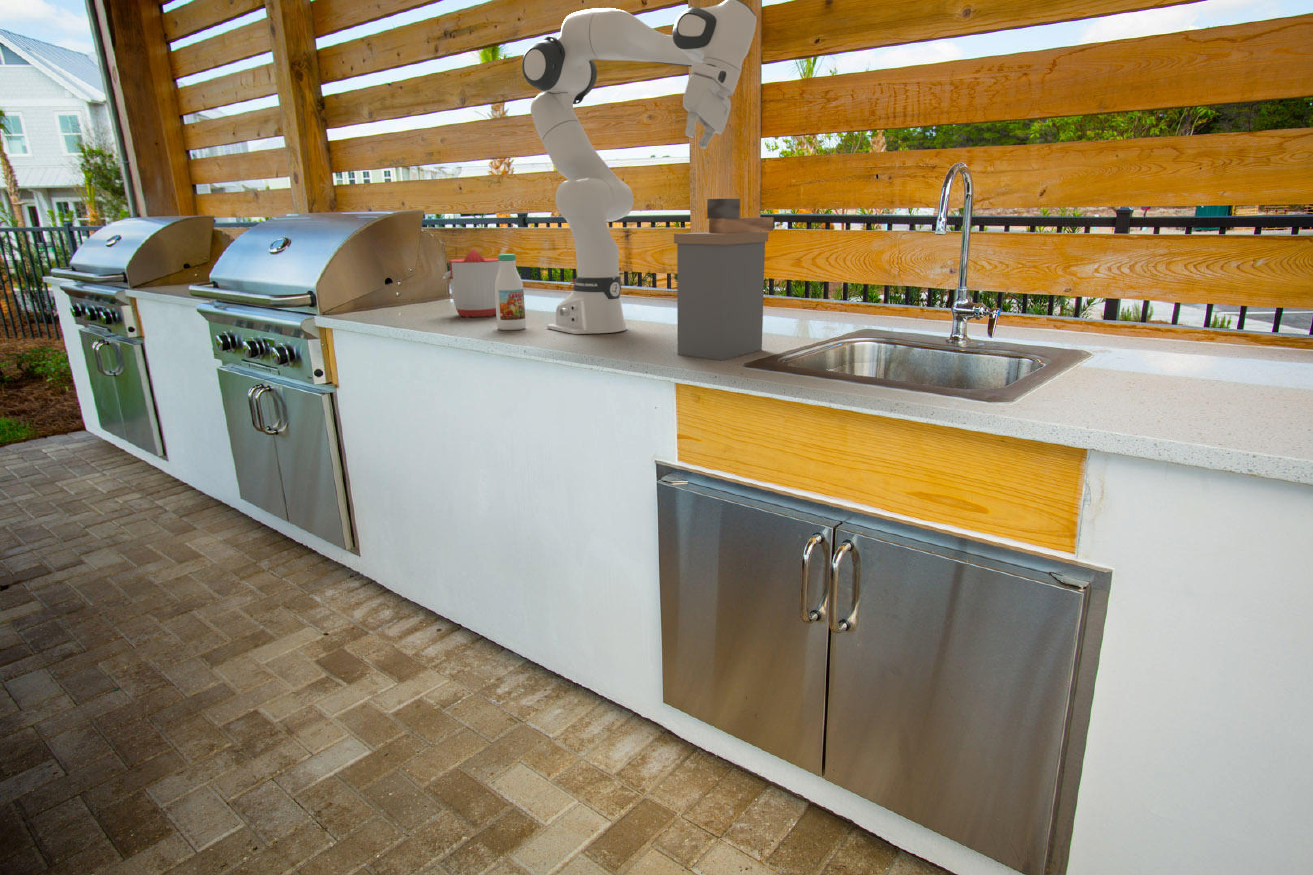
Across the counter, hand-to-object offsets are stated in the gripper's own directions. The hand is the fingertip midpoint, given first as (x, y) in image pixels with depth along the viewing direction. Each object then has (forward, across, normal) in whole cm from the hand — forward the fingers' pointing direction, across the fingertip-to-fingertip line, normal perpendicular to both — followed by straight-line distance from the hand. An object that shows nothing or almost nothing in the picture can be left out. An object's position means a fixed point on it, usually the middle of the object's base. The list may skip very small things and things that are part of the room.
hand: (695, 142), depth 173 cm
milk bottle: (+59, -14, -39) cm, 72 cm away
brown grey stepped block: (+15, 0, +18) cm, 23 cm away
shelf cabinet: (+41, +3, +24) cm, 48 cm away
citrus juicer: (+63, -34, -65) cm, 97 cm away
